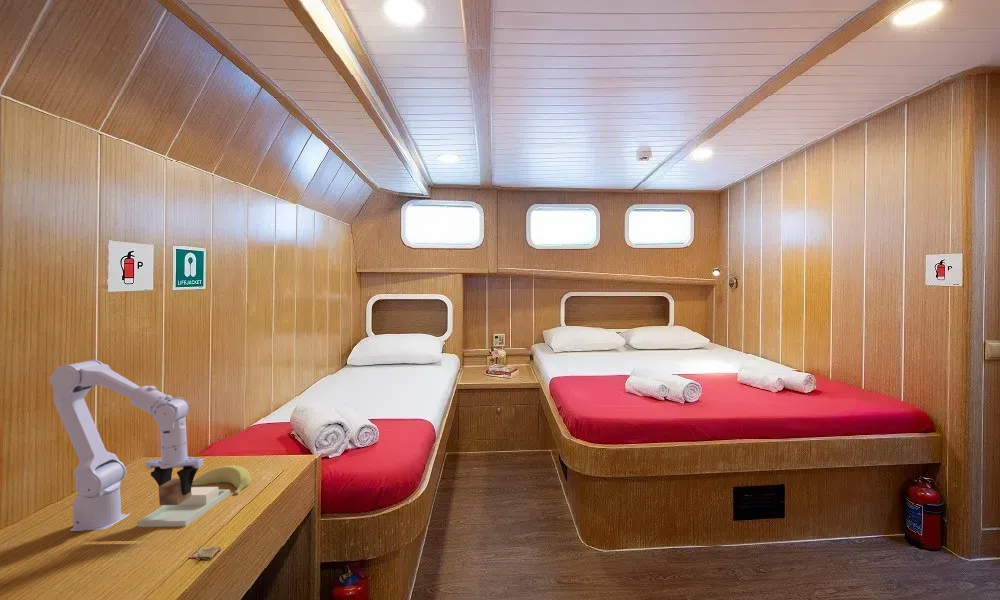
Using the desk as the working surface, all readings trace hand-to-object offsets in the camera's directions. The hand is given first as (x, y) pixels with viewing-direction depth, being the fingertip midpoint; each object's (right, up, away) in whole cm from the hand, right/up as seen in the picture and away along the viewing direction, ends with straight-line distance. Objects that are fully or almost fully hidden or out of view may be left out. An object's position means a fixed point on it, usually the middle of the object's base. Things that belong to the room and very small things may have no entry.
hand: (176, 493), depth 120 cm
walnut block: (0, -2, 0) cm, 2 cm away
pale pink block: (+1, -6, +8) cm, 10 cm away
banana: (+2, -7, +18) cm, 19 cm away
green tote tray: (0, -7, +4) cm, 8 cm away
